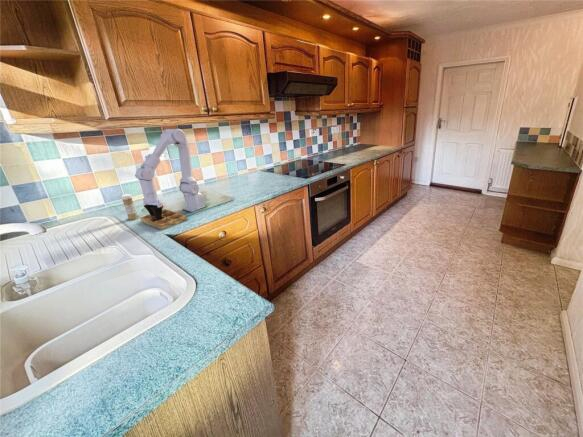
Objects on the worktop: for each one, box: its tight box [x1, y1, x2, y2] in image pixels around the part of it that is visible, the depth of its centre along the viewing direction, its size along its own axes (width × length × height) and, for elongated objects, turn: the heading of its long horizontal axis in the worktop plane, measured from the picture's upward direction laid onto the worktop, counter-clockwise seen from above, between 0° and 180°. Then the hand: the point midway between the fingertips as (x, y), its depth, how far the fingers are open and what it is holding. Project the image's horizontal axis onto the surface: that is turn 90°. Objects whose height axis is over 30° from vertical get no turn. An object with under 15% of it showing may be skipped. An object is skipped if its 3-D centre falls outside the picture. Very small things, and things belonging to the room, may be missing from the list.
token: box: [151, 213, 161, 222], centre depth 131 cm, size 4×4×4 cm
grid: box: [140, 208, 188, 231], centre depth 134 cm, size 14×20×2 cm
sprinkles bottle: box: [120, 193, 139, 221], centre depth 137 cm, size 5×5×14 cm
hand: (156, 218), depth 131 cm, fingers closed on token, 4 cm apart
